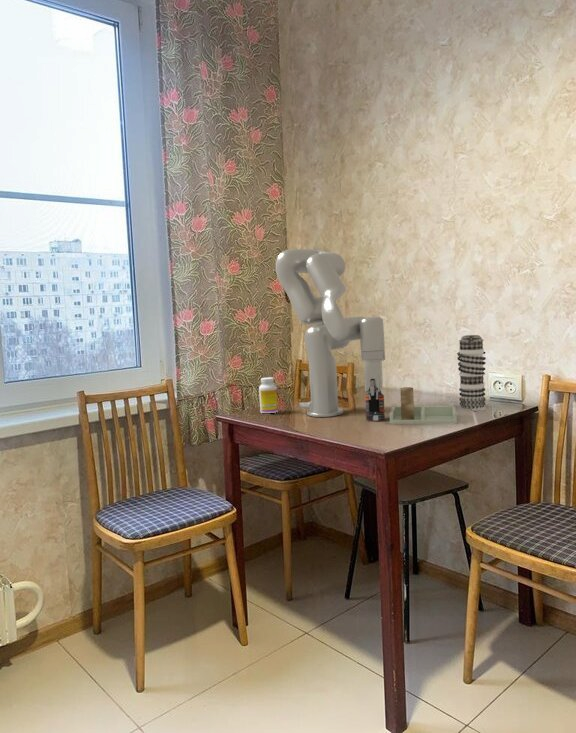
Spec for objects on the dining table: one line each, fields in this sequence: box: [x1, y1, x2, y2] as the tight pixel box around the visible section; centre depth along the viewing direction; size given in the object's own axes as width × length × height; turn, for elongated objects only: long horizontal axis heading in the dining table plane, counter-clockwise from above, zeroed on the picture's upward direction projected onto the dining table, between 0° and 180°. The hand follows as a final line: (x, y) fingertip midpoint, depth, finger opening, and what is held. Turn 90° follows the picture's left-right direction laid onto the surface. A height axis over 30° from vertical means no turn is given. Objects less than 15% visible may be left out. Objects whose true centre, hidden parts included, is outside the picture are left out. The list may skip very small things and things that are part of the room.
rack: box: [389, 405, 458, 425], centre depth 183 cm, size 20×12×4 cm, turn 76°
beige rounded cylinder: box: [399, 386, 415, 420], centre depth 184 cm, size 4×4×10 cm
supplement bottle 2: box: [365, 390, 386, 423], centre depth 187 cm, size 6×6×11 cm
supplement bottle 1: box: [258, 376, 279, 414], centre depth 211 cm, size 7×7×13 cm
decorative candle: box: [456, 334, 487, 412], centre depth 197 cm, size 9×9×25 cm
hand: (376, 408), depth 187 cm, fingers open, 9 cm apart
